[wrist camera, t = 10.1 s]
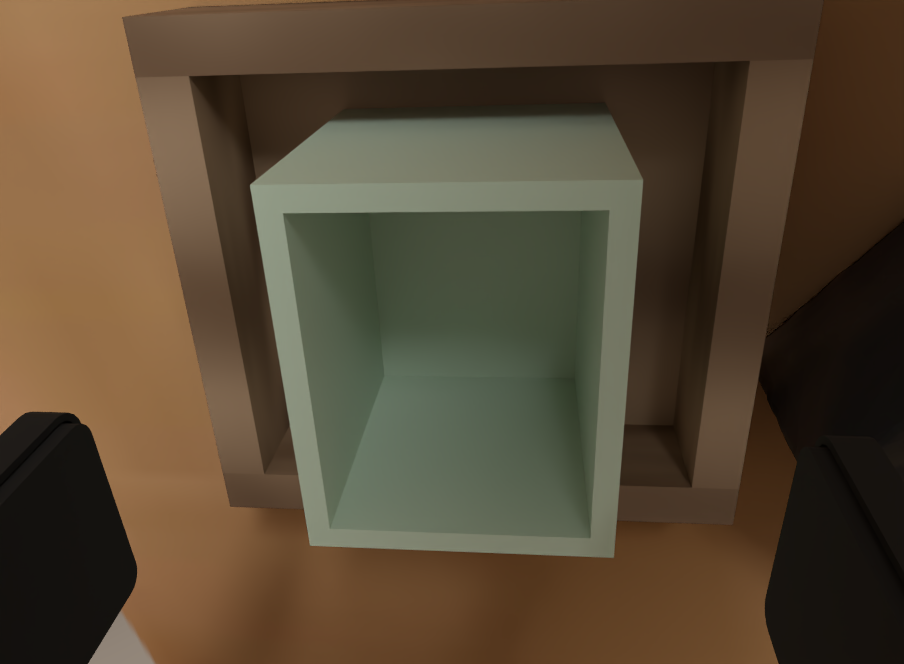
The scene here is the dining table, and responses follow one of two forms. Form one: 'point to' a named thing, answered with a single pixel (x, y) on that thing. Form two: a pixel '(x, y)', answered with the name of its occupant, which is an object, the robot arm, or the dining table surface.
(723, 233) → the walnut crate
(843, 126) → the dining table surface
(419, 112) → the small crate
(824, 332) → the beverage carton
